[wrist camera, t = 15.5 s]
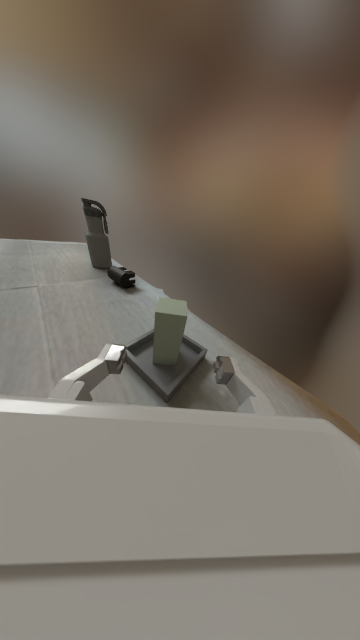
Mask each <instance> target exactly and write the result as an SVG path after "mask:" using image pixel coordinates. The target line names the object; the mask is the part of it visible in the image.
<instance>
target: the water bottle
mask: <svg viewBox="0 0 360 640" xmlns="http://www.w3.org/2000/svg"><path fill="white" fill-rule="evenodd" d="M81 199H82V202H83V205H84V207H83V209H84V214H85V216H86V221H87V226H88V232H87V233H86V240H87V244H88V249H89V253H90V258H91V262H92V265H93V266H94V267H96V268H103V269H105V268H110V267H112V262H111V254H110V247H109V241H108V237H107V236H106V235H105V234H104V230H103V224H102V218H101V217H102V216H103V219H104V221H103V222H104V229H105V233H107V234H108V227H107V222H106V218H105V217H106V216H107V215H106V211H105V209H104V207H103V206H102V205H101V204H100V203H98V202H96V201H93V200H88V199H84V198H81ZM91 204H95V205H97V206H98V207H99V208H100V209H101V210H102V213H101V211H100V210H99V209H97V208H93V207H91ZM105 224H106V226H105Z"/></svg>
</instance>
